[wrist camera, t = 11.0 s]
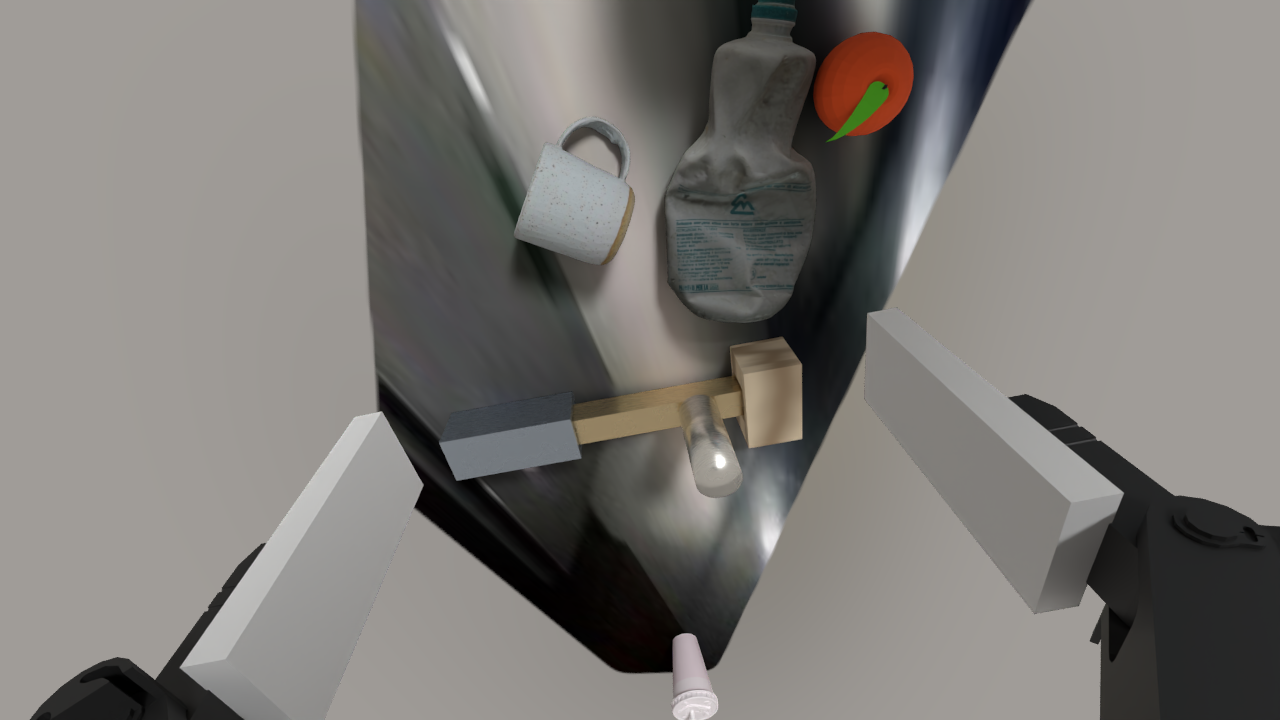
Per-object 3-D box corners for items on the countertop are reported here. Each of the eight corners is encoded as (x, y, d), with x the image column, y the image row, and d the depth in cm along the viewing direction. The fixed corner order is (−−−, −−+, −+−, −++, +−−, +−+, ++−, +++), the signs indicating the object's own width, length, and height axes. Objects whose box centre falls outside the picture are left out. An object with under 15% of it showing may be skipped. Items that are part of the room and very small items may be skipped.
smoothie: (662, 630, 75) (676, 737, 63) (705, 625, 76) (727, 731, 64) (664, 655, 79) (677, 762, 66) (705, 650, 79) (725, 756, 67)
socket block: (735, 415, 57) (749, 448, 52) (729, 346, 53) (743, 374, 48) (784, 407, 57) (802, 438, 52) (782, 336, 53) (801, 364, 48)
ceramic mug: (605, 255, 47) (607, 284, 40) (517, 222, 45) (505, 247, 38) (650, 140, 43) (662, 151, 36) (556, 97, 41) (550, 100, 34)
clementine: (834, 159, 44) (873, 173, 38) (774, 111, 42) (805, 118, 36) (902, 70, 41) (956, 70, 35) (841, 13, 39) (887, 3, 33)
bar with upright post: (554, 435, 55) (543, 528, 44) (544, 405, 53) (531, 495, 42) (763, 397, 55) (807, 481, 44) (762, 366, 53) (807, 445, 42)
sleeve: (467, 449, 56) (456, 480, 52) (451, 413, 54) (439, 442, 50) (582, 428, 56) (581, 458, 52) (572, 391, 54) (570, 419, 49)
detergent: (782, 307, 51) (860, 4, 38) (801, 341, 45) (901, -7, 32) (651, 295, 50) (687, -16, 38) (652, 327, 44) (695, -32, 32)
